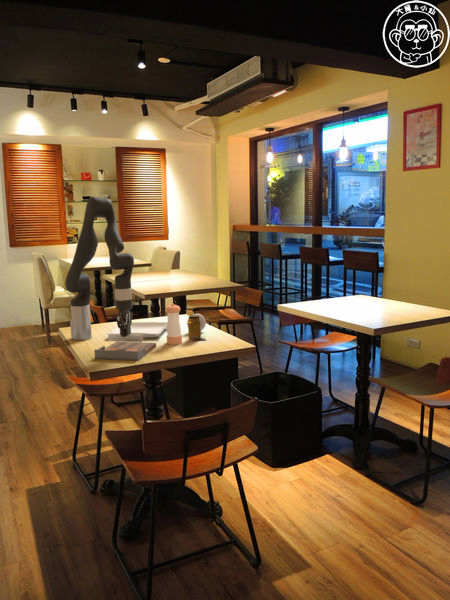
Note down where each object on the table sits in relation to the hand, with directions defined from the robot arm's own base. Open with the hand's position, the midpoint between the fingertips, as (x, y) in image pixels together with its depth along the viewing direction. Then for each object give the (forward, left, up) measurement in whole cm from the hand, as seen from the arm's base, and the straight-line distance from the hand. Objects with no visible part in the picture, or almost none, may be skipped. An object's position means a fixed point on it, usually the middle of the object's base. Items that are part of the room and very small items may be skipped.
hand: (125, 335), depth 237 cm
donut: (+22, +43, -8) cm, 49 cm away
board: (+1, +4, -8) cm, 9 cm away
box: (+1, -8, -8) cm, 11 cm away
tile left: (-5, -6, -7) cm, 11 cm away
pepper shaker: (+17, +20, -8) cm, 27 cm away
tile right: (+5, -7, -7) cm, 11 cm away
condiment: (+26, +28, -8) cm, 39 cm away
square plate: (-7, +37, -8) cm, 38 cm away
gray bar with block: (0, 0, -3) cm, 3 cm away
